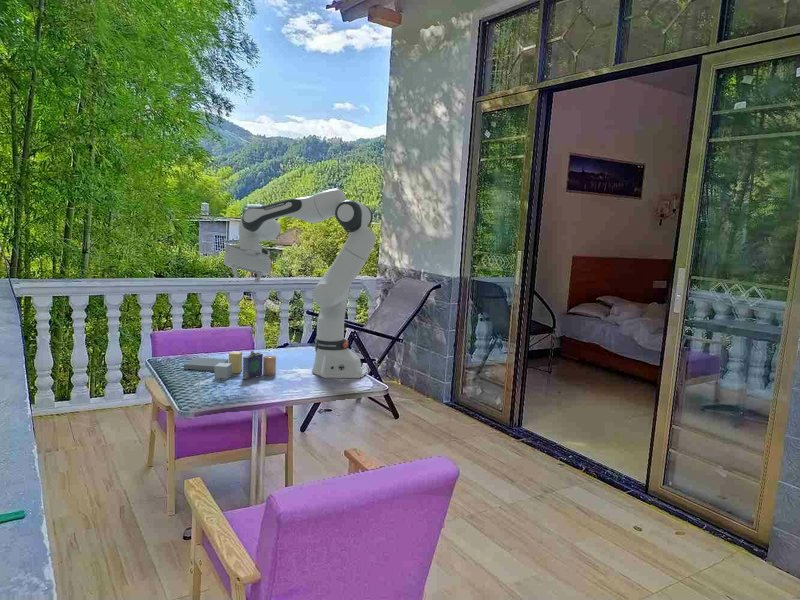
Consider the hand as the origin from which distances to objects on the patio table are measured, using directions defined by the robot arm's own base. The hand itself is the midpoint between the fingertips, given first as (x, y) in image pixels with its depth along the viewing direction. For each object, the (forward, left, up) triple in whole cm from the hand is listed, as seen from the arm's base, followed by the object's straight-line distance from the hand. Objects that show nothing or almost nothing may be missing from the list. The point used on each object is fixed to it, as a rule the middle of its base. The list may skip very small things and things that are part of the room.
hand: (246, 280), depth 228 cm
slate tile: (+15, +4, -37) cm, 40 cm away
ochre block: (+1, +9, -37) cm, 38 cm away
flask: (-8, +15, -37) cm, 40 cm away
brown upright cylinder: (-13, +9, -37) cm, 40 cm away
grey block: (+3, +17, -37) cm, 41 cm away
